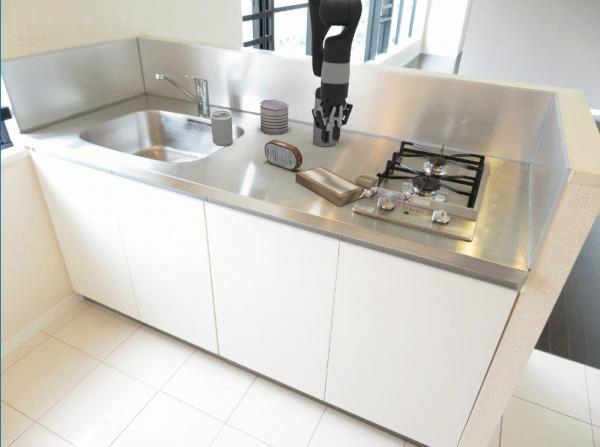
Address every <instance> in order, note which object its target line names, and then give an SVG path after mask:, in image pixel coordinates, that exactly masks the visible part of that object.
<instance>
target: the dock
mask: <svg viewBox="0 0 600 447" xmlns="http://www.w3.org/2000/svg"><path fill="white" fill-rule="evenodd" d="M295 182H296V183H297V184H299V185H301V186H302V187H303V188H306V189H308V190H309V191H311V192H313V193H314V194H317V195H318V196H320V197H322V198H323V199H324V200H327V201H329V202H331V204H333V205H334V206H337V207H339V208H340V207H341V206H344V205H347V204H349V203H352V202H356V201H357V200H359V199H358V198H359V197H360V196H361V195H362V193H363V192H364V189H365V188H363V187H361V186H359V185H357V184H356V182H353V181H351V180H349V179H347V178H345V177H343V176H341V175H339V174H337V173H335V172H333V171H331V170H329V169H327V168H325V167H323V166H321V165H318V166H314V167H311V168H308V169H305V170H302V171H297V172H295Z"/></svg>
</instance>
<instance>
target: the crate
mask: <svg viewBox="0 0 600 447" xmlns="http://www.w3.org/2000/svg"><path fill="white" fill-rule="evenodd" d="M379 181H380V177H379V176H375V175H373V174H370V173H367V172H363V173H362V174H360V175H358V176H357V177H356V178H355V184H357V185H359V186H361V187H363V188H365V189H367V190H370V189H371V188H372V187H378V188H379Z"/></svg>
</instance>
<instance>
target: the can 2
mask: <svg viewBox="0 0 600 447" xmlns="http://www.w3.org/2000/svg"><path fill="white" fill-rule="evenodd" d="M259 106H260V111H259V112H260V131H261V132H262V133H263V134H264V135H268V136H281V135H284V134H286V133H287V132H288V129H289V127H288V126H289V107H290V105H289V104H288V102H286V101H283V100H279V99H275V98H274V99H263V100H262V101H260V102H259Z"/></svg>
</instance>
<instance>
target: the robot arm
mask: <svg viewBox="0 0 600 447" xmlns="http://www.w3.org/2000/svg"><path fill="white" fill-rule="evenodd" d="M308 7H309V9H308V10H309V18H310V29H311V68H312V72H313V75H314V76H315V77H317V78H320V86H319V87H317V88H316V89H315V92H314V108H312V109H311V114H312V117H313V130H312V144H314V145H316V146H319V147H332V146H335V145H336V144H337V143H339V141H340V138H341V129H342V128H343V127H344V126H346V125H347V123H348V122H349V118H350V116H351V113H352V110H353V108H354V105H353V104H352V103H349V102H347V100H346V99H347V98H348V97H349V96H348V95H349V86H350V76H351V74H350V73H351V56H352V55H351V54H352V46H353V42H354V38H355V34H356V31H357V28H358V26H359V23H360V20H361V17H362V14H363V3H362V0H308ZM332 27H343V29H342V30H341V32H340V33H339V34H336V35H331V36H328V37H326V36H327V34H328V32H329V31H330V30H331V28H332Z"/></svg>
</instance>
